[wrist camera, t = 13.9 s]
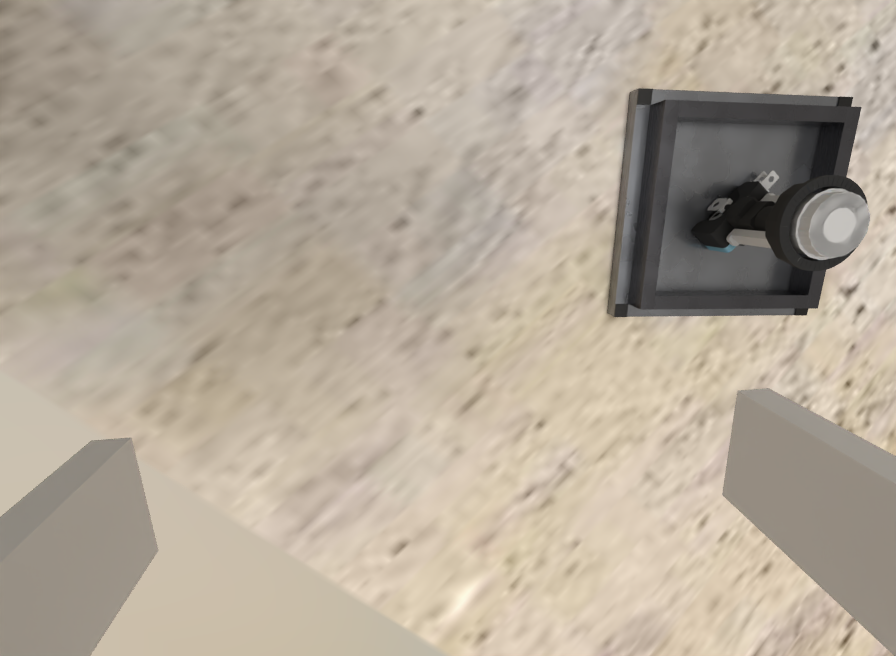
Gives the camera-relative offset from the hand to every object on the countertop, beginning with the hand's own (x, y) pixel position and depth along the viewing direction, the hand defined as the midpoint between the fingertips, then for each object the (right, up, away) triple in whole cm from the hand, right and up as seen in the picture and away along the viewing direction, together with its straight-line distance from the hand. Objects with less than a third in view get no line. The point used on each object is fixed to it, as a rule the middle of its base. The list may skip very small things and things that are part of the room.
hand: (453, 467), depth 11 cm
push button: (+21, +12, +26) cm, 35 cm away
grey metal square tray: (+21, +12, +27) cm, 36 cm away
